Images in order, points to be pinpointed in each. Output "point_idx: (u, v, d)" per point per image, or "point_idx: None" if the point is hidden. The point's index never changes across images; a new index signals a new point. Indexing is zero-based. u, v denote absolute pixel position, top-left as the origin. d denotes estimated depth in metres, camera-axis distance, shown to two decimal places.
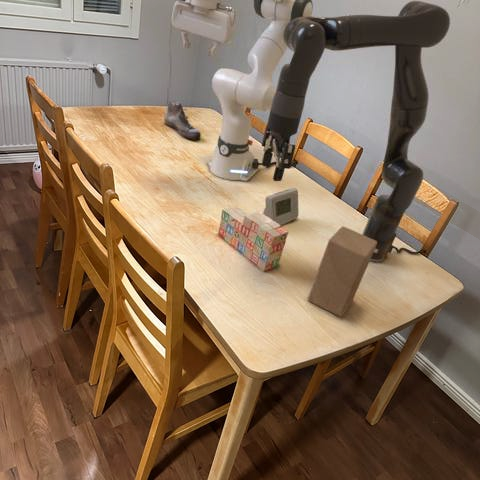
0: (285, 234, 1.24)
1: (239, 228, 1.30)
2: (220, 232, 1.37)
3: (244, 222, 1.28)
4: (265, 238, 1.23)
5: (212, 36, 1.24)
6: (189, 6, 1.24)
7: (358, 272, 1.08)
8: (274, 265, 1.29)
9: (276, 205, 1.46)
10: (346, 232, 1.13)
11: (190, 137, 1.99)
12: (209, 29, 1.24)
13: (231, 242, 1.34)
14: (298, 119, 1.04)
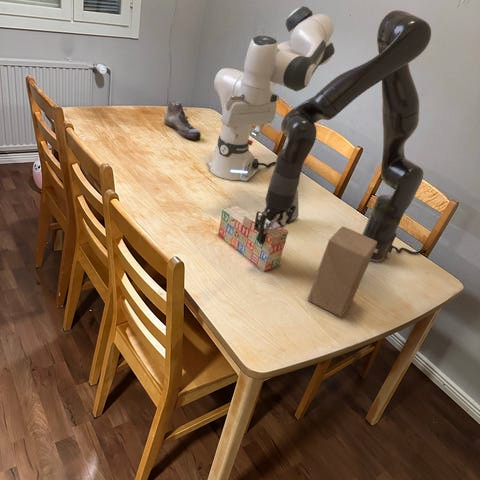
0: (285, 234, 1.24)
1: (239, 228, 1.30)
2: (220, 232, 1.37)
3: (244, 222, 1.28)
4: None
5: None
6: None
7: (358, 272, 1.08)
8: (274, 265, 1.29)
9: None
10: (346, 232, 1.13)
11: (190, 137, 1.99)
12: None
13: (231, 242, 1.34)
14: (280, 196, 1.15)
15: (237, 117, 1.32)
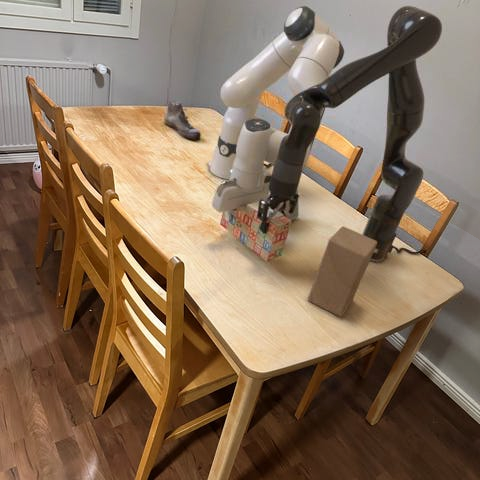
0: (288, 223, 1.22)
1: (241, 218, 1.28)
2: (222, 222, 1.35)
3: (247, 211, 1.26)
4: None
5: None
6: None
7: (358, 272, 1.08)
8: (277, 255, 1.27)
9: None
10: (346, 232, 1.13)
11: (190, 137, 1.99)
12: None
13: (233, 232, 1.32)
14: (283, 183, 1.13)
15: (229, 202, 1.25)
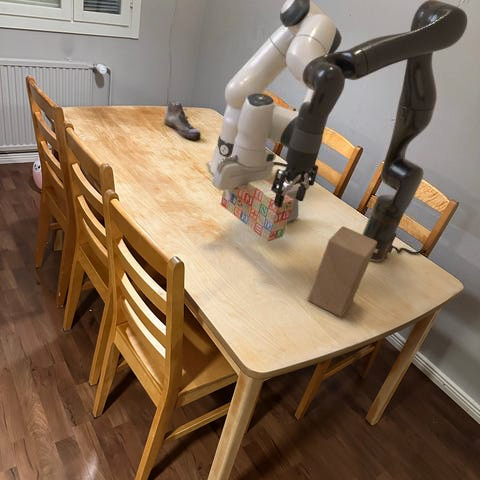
0: (290, 202, 1.18)
1: (242, 197, 1.25)
2: (223, 202, 1.32)
3: (248, 190, 1.22)
4: (269, 206, 1.17)
5: None
6: None
7: (358, 272, 1.08)
8: (278, 236, 1.23)
9: None
10: (346, 232, 1.13)
11: (190, 137, 1.99)
12: None
13: (234, 212, 1.29)
14: (302, 153, 1.06)
15: (230, 180, 1.21)
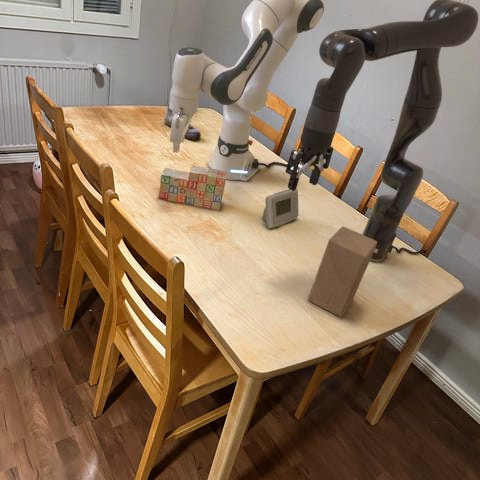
0: (226, 174, 1.50)
1: (184, 185, 1.47)
2: (161, 195, 1.50)
3: (190, 177, 1.45)
4: (216, 183, 1.46)
5: None
6: None
7: (358, 272, 1.08)
8: None
9: (276, 205, 1.46)
10: (346, 232, 1.13)
11: (190, 137, 1.99)
12: None
13: (177, 200, 1.50)
14: (318, 132, 1.01)
15: (183, 131, 1.33)
